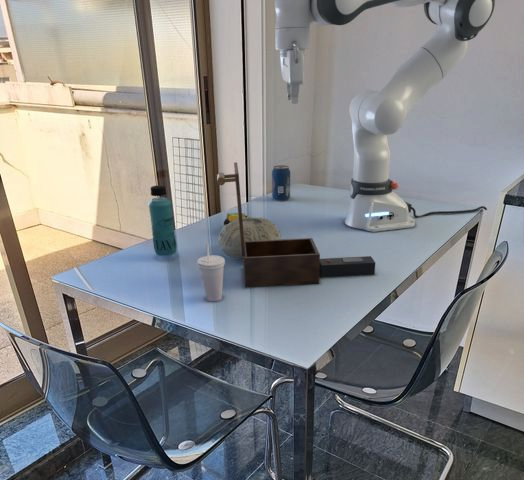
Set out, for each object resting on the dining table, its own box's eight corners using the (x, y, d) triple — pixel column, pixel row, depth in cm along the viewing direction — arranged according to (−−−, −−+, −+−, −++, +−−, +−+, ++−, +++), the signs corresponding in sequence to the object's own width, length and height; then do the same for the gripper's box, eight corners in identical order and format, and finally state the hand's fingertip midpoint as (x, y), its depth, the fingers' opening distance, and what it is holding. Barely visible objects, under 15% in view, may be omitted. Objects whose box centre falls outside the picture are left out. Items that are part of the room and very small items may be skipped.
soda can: (273, 196, 198) (272, 164, 191) (290, 196, 197) (290, 164, 191) (271, 201, 192) (271, 168, 186) (289, 201, 191) (289, 168, 185)
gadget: (249, 227, 170) (248, 210, 168) (244, 233, 158) (243, 215, 156) (230, 226, 171) (230, 210, 169) (223, 233, 159) (223, 215, 156)
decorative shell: (271, 269, 135) (270, 233, 130) (209, 264, 140) (206, 228, 134) (287, 247, 149) (287, 213, 144) (231, 242, 154) (229, 210, 149)
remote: (369, 268, 134) (371, 255, 132) (374, 274, 130) (375, 261, 129) (318, 270, 134) (318, 257, 132) (321, 277, 130) (321, 264, 128)
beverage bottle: (151, 259, 143) (140, 188, 133) (162, 251, 149) (153, 182, 138) (171, 262, 141) (161, 190, 131) (182, 254, 147) (174, 184, 136)
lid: (237, 162, 121) (216, 163, 121) (238, 173, 111) (216, 175, 111) (243, 239, 132) (224, 241, 131) (245, 256, 121) (224, 258, 121)
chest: (311, 265, 137) (312, 237, 133) (318, 283, 127) (319, 254, 122) (243, 269, 136) (242, 241, 132) (245, 287, 126) (243, 258, 122)
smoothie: (201, 293, 124) (195, 238, 116) (227, 291, 124) (223, 236, 117) (200, 304, 118) (194, 247, 111) (227, 302, 119) (223, 246, 111)
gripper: (310, 41, 120) (309, 105, 127) (300, 41, 137) (299, 97, 144) (284, 42, 120) (284, 106, 127) (277, 42, 137) (277, 98, 144)
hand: (292, 101), depth 136 cm, fingers open, 8 cm apart
